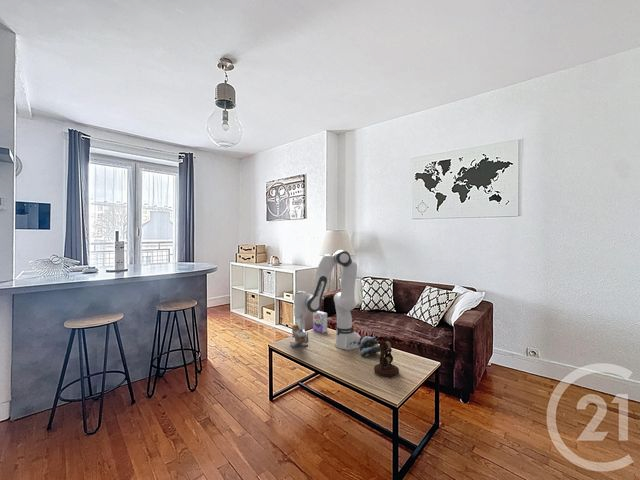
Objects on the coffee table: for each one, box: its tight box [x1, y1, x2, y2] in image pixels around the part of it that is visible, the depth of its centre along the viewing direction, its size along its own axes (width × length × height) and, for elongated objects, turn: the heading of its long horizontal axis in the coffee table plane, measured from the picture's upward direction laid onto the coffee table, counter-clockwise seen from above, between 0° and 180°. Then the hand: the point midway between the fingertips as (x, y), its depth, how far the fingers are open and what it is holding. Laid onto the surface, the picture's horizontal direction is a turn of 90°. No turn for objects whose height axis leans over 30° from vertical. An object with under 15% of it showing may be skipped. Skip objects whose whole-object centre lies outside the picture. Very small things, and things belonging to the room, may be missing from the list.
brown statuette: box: [373, 337, 400, 379], centre depth 179 cm, size 15×15×20 cm
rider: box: [297, 329, 306, 338], centre depth 215 cm, size 5×5×5 cm
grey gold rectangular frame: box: [289, 323, 310, 349], centre depth 221 cm, size 12×25×14 cm, turn 13°
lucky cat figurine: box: [357, 334, 381, 358], centre depth 208 cm, size 15×12×14 cm
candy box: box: [312, 310, 328, 334], centre depth 258 cm, size 14×6×16 cm, turn 37°
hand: (300, 332), depth 219 cm, fingers closed
